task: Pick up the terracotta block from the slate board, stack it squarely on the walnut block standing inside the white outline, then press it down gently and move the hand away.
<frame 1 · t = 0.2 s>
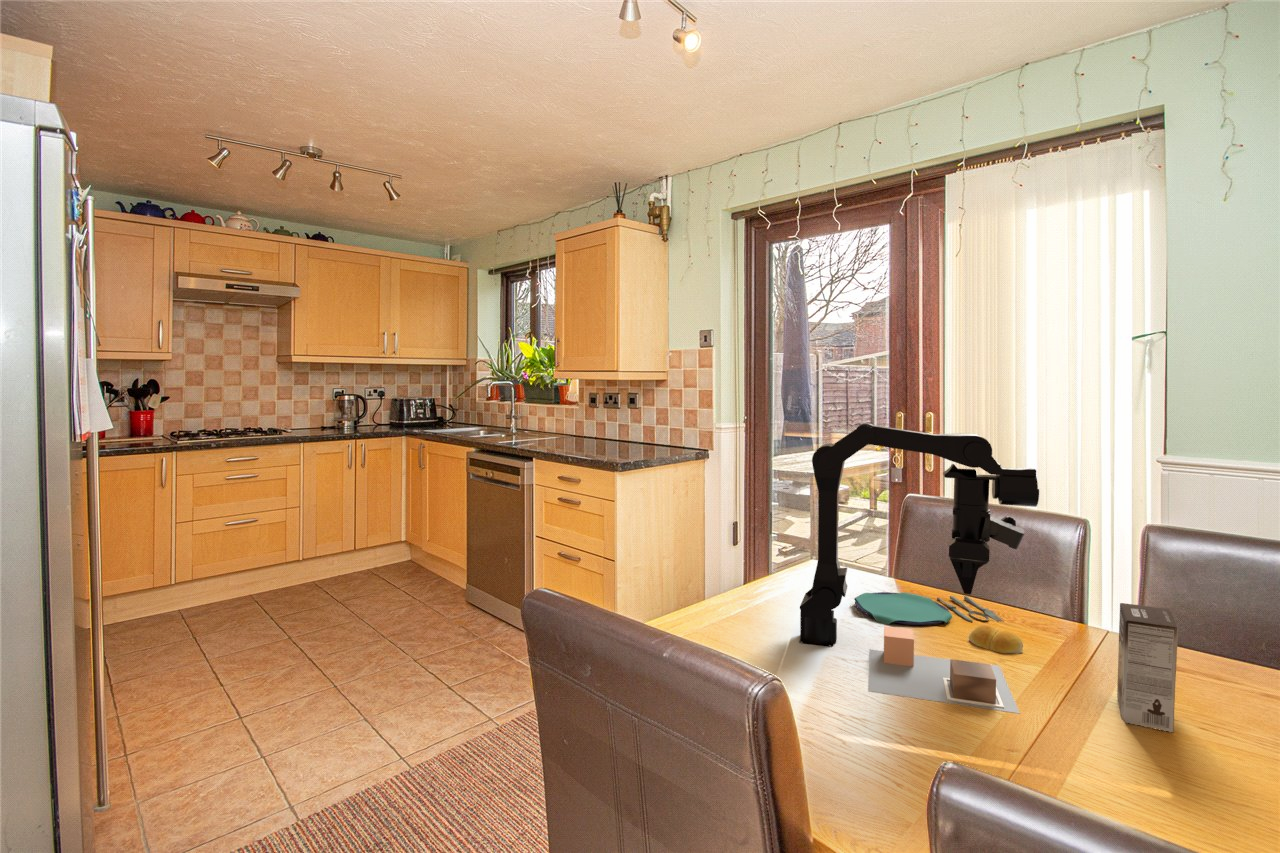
hand: (967, 586, 118), 14 cm above the table, tool pointing down, fingers open, 9 cm apart
bread roll: (995, 648, 125), on the table
coffee box: (1143, 716, 99), on the table
slate board: (936, 681, 111), on the table
walnut block: (971, 692, 105), point 1 cm above the table, touching slate board
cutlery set: (923, 615, 144), on the table
terracotta block: (898, 659, 118), point 1 cm above the table, touching slate board
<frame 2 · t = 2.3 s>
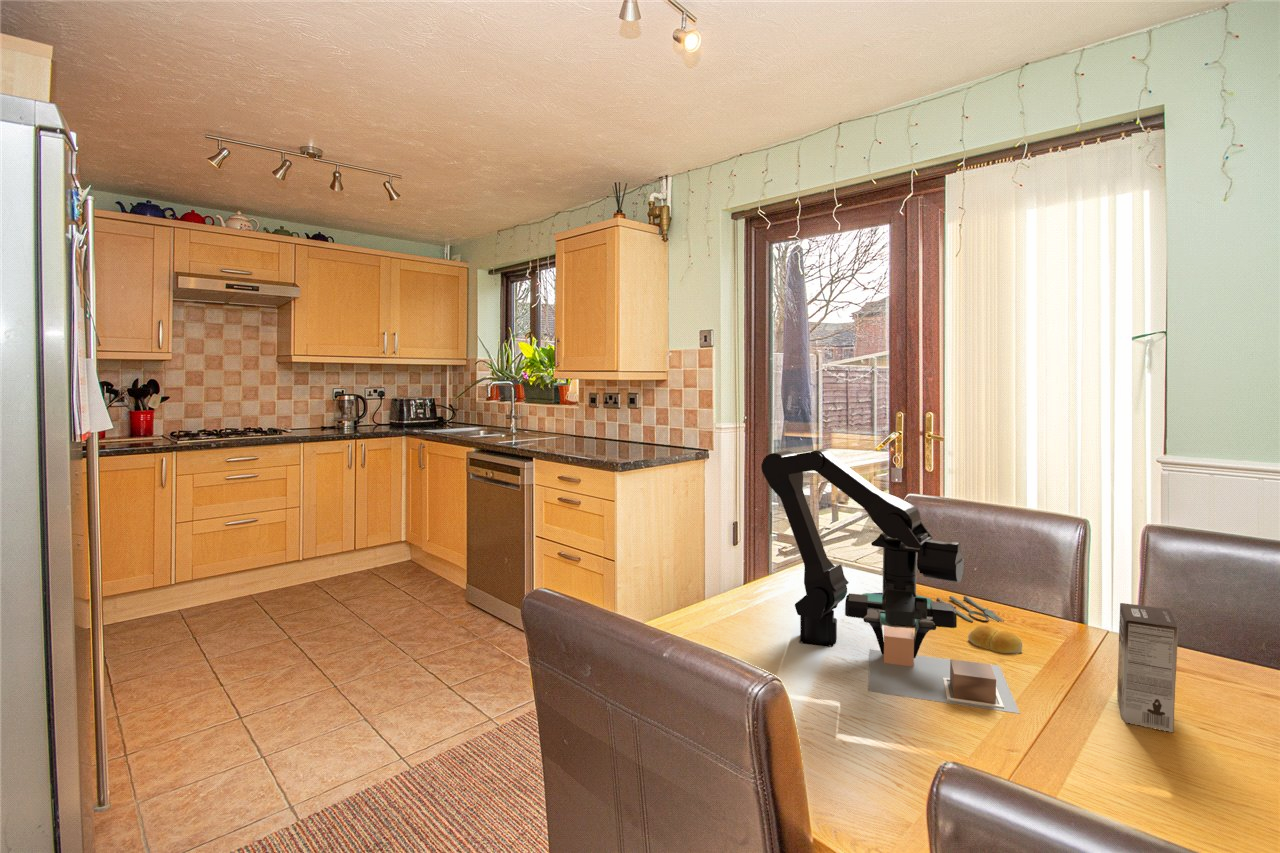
hand: (898, 655, 118), 1 cm above the table, tool pointing down, fingers closed on terracotta block, 5 cm apart
terracotta block: (898, 659, 118), point 1 cm above the table, touching gripper, slate board
everything else where it was.
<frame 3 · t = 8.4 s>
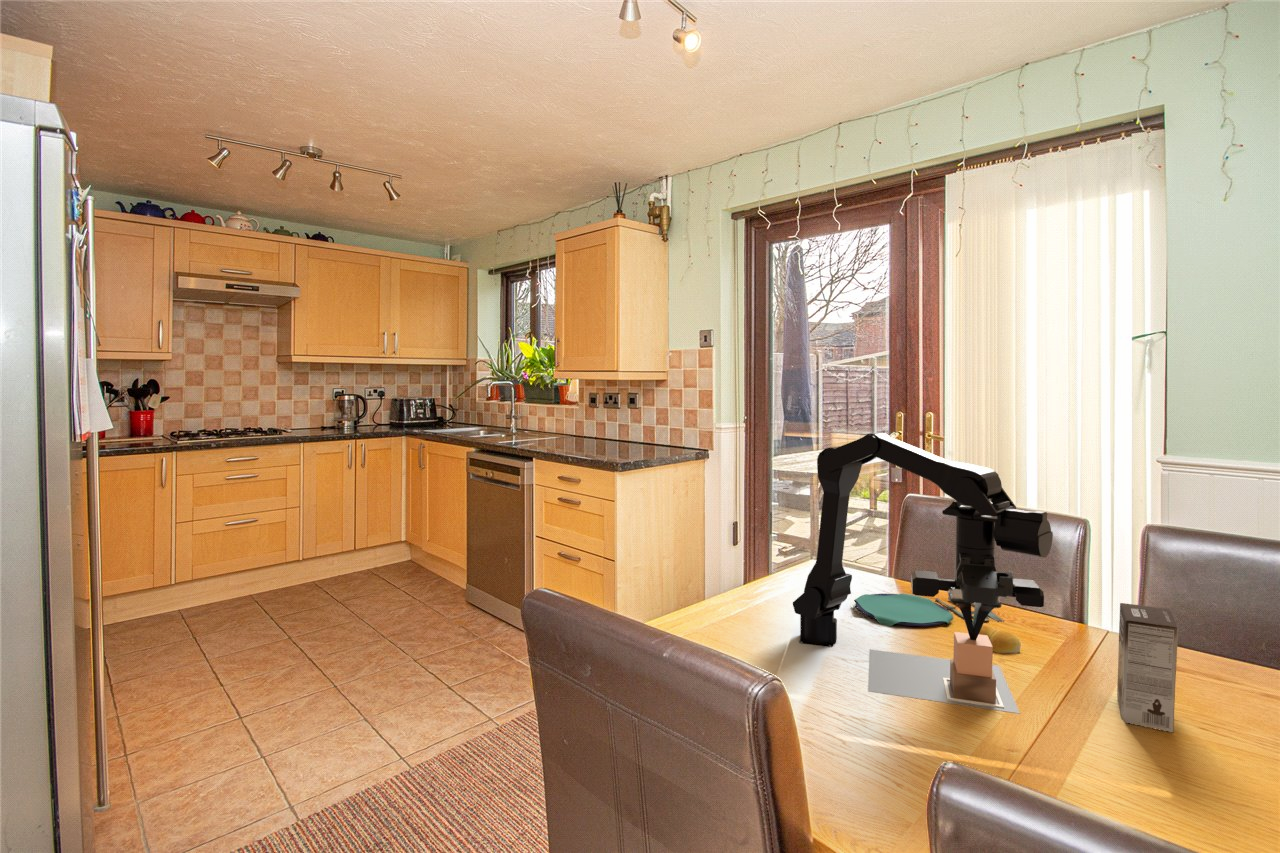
hand: (972, 639, 105), 10 cm above the table, tool pointing down, fingers closed, pressing on terracotta block
walnut block: (971, 692, 105), point 1 cm above the table, touching slate board, terracotta block
terracotta block: (972, 668, 105), point 5 cm above the table, touching gripper, walnut block
everything else where it was.
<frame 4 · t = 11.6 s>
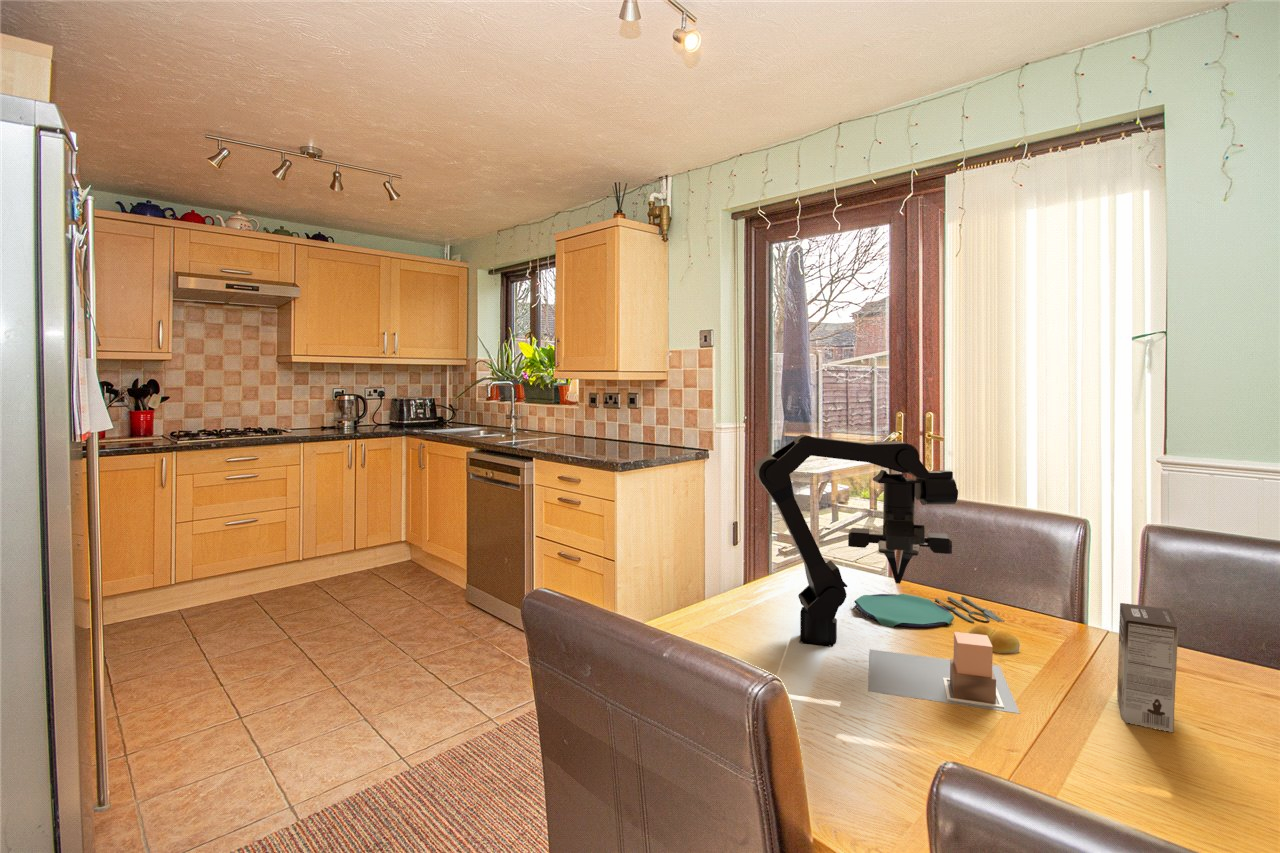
hand: (897, 583, 127), 12 cm above the table, tool pointing down, fingers closed
terracotta block: (972, 668, 105), point 5 cm above the table, touching walnut block
everything else where it was.
at the end: terracotta block 0.0 cm off-centre on the walnut block, point 4.0 cm above the walnut block's base; terracotta block tilted 0°; walnut block 0.0 cm from the target spot on the slate board, point 0.6 cm above the slate board's base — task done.
